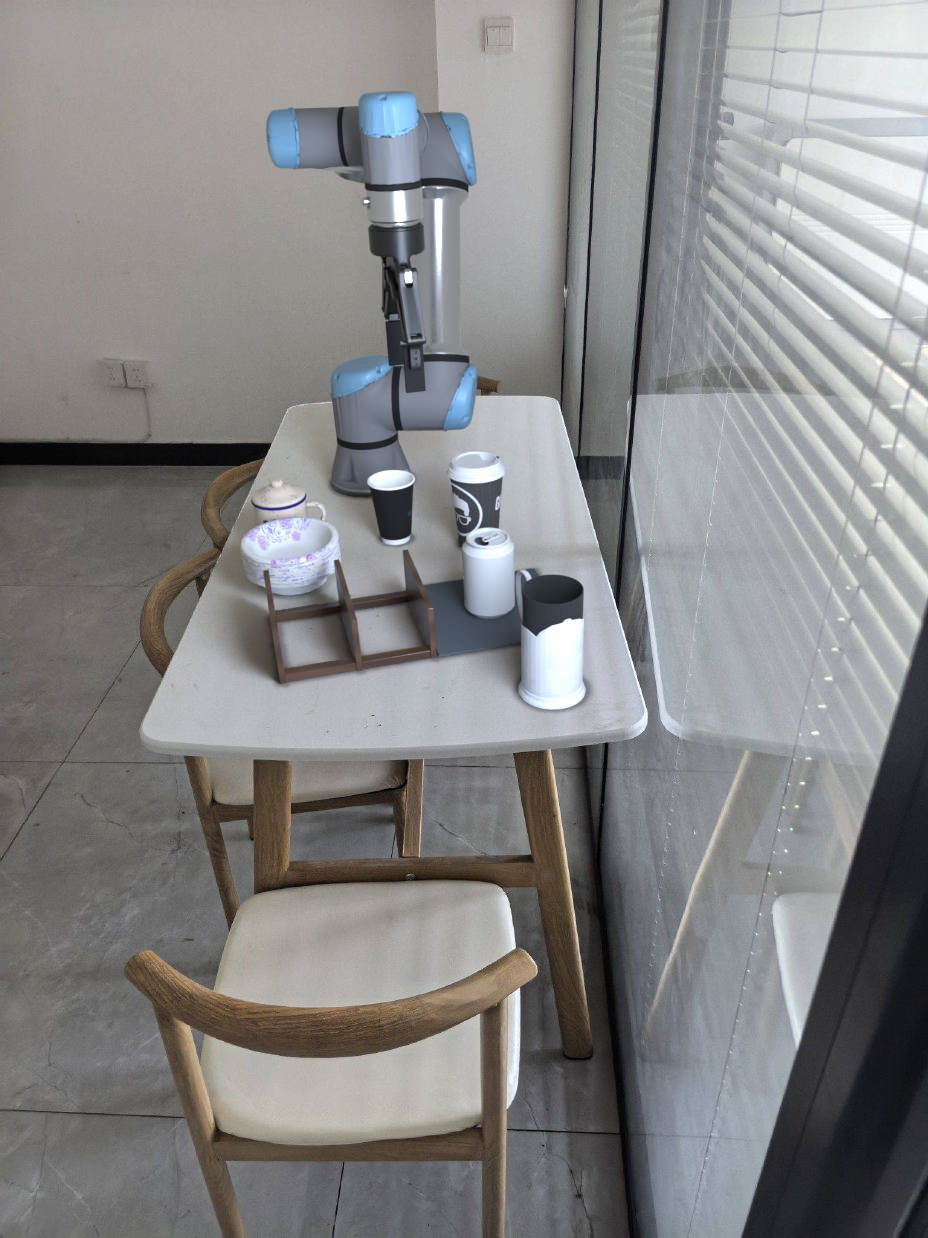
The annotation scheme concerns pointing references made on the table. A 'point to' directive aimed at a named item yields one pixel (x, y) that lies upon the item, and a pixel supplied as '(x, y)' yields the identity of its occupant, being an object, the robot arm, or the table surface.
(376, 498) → the dixie cup
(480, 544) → the can
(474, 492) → the coffee cup
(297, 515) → the teacup with lid
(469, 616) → the mat
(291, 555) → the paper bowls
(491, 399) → the table surface
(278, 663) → the rack
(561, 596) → the glass holder
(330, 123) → the robot arm
